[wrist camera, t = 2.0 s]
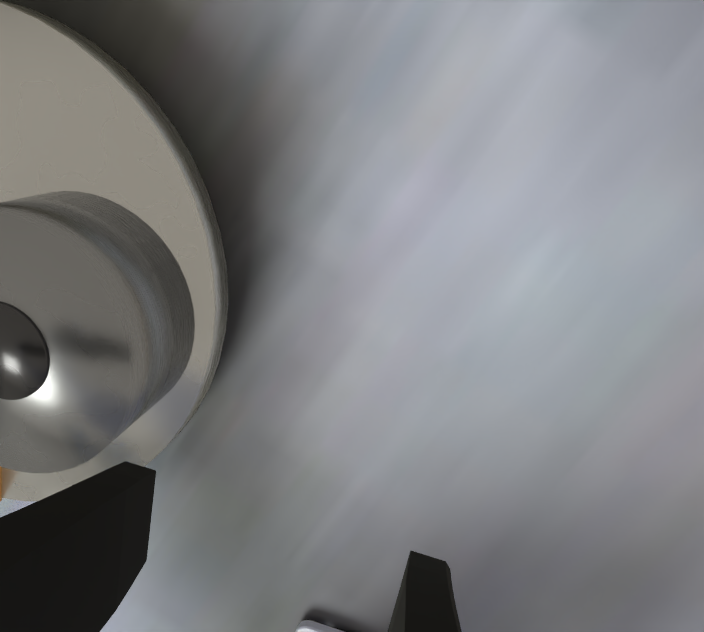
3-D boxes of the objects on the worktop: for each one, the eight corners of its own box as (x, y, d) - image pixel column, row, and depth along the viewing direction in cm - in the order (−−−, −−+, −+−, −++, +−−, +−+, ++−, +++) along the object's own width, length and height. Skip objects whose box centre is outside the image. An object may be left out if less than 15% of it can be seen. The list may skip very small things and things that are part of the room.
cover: (208, 223, 18) (139, 251, 14) (181, 440, 20) (117, 509, 17) (-17, 166, 19) (-131, 180, 15) (-16, 380, 21) (-115, 433, 18)
